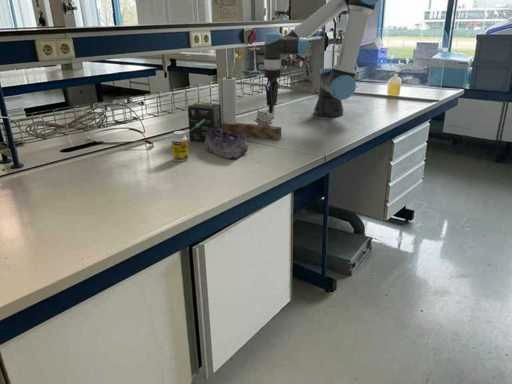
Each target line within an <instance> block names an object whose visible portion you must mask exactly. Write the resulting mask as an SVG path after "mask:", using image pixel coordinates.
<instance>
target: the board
mask: <svg viewBox="0 0 512 384" xmlns="http://www.w3.org/2000/svg"><path fill="white" fill-rule="evenodd" d="M222 130H223V132H226V131H227V132H230V133H233V134H234V133H235V134H237V135H244V136H245V137H246V138H250V137H252V138H251V139H259V138H260V139H259V140H261V139H262V140H268V139H269V140H270V141H278V142H279V141H280V140H282V127H281V126H273V125H270V126H264V125H258V124H252V123H243V122H241V123H240V122H236V123H233V122H223V123H222ZM269 140H268V141H269Z"/></svg>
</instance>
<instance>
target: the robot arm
mask: <svg viewBox="0 0 512 384" xmlns="http://www.w3.org/2000/svg"><path fill="white" fill-rule="evenodd" d="M379 1H380V0H329V1H327V2H326V3H325V4H323V6H321V7H320V8H318V10H316V11H315V12H314V13H312V14H311V15H310V16H309V17H308V18H306V19H305V20H303V21H302V22H301V23H300V24H299V25H297V26H296V27H295V28H294V29H293V30H291V31H290V32H288V34H286V35H283V34H282V33H280V32H267V33H266V34H265V36H264V60H263V63H264V71H263V72H264V73H263V77H264V78H266V79H267V81H266V85H265V86H264V87H265V94H266V95H265V96H266V97H265V98H266V106H267V107H268V113H269V114H270V115H271V117H272V118H273V117H274V118H273V119H272V121H273V120H275V119H276V117H275V116H276V106H277V105H278V104H277V102H278V90H279V85H280V83H279V82H278V79H279V78H281V75H282V74H281V72H282V71H281V68H282V56H302V55H303V56H304V55H307V52H308V50H309V49H308V48H309V43H308V42H309V41H308V39H309V38H311V37H312V36H313V35H315V33H317V32H318V31H319V30H321V29H322V28H323V27H325V26H326V25H327V24H328V23H330V22H332V20H334V19H335V18H336V17H337V16H339V15H340V14H342V12H344V11H346V12H347V11H348V10H349V11H350V12H349V15H348V19H347V22H346V27H345V30H344V34H343V37H342V42H341V45H340V48H339V49H340V50H339V52H338V53H339V54H338V57H337V61H336V64H335V65H333V66H332V67H331V68H320V71H319V74H318V76H319V77H318V78H319V80H318V81H319V82H318V98H317V101H316V103H315V106H314V109H313V114H314V115H317V116H322V117H340V116H343V115H344V107H343V102H342V100H343V101H344V100H347V99H349V98H350V97H353V95H354V93H355V91H356V88H357V83H356V80H355V79H356V75H357V71H356V70H355V66H356V62H357V59H358V56H359V53H360V50H361V49H360V48H361V44H362V41H363V39H364V35H365V34H364V33H365V31H366V28H367V24H368V20H369V17H370V14H372V13H374V11H375V7H376V5H377V3H378V2H379Z"/></svg>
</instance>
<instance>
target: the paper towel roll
mask: <svg viewBox="0 0 512 384" xmlns="http://www.w3.org/2000/svg"><path fill="white" fill-rule="evenodd" d="M217 81H218V82H217V85H218V86H217V88H218V104H221V122H222V123H223V122H233V123H237V89H236V88H237V84H236V83H237V81H236V77H229V76H226V77H218V79H217Z"/></svg>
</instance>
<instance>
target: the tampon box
mask: <svg viewBox="0 0 512 384" xmlns="http://www.w3.org/2000/svg"><path fill="white" fill-rule="evenodd" d="M187 116H188V119H187V120H188V134H189V141H190V142H195V143H204V144H206V143H205V140H206V130H209V128H210V127H211V128H213V129H214V128H215V126H218V128H219V129H222V122H221V104H219V103H207V102H196V103H194V104H191V105H190V106H188V107H187Z"/></svg>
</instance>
